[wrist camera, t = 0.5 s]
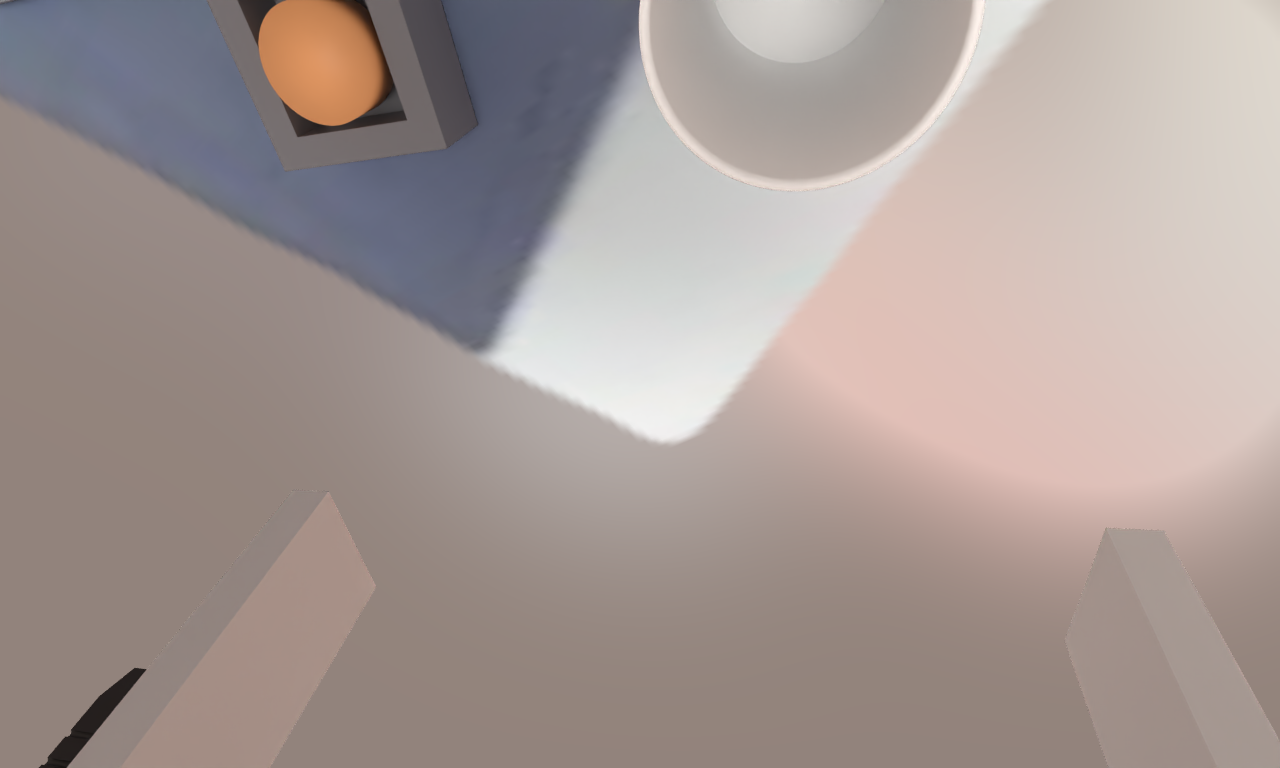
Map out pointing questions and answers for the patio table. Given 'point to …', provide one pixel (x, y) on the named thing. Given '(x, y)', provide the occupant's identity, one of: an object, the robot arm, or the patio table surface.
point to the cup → (804, 81)
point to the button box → (402, 124)
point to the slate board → (5, 1)
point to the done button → (324, 59)
